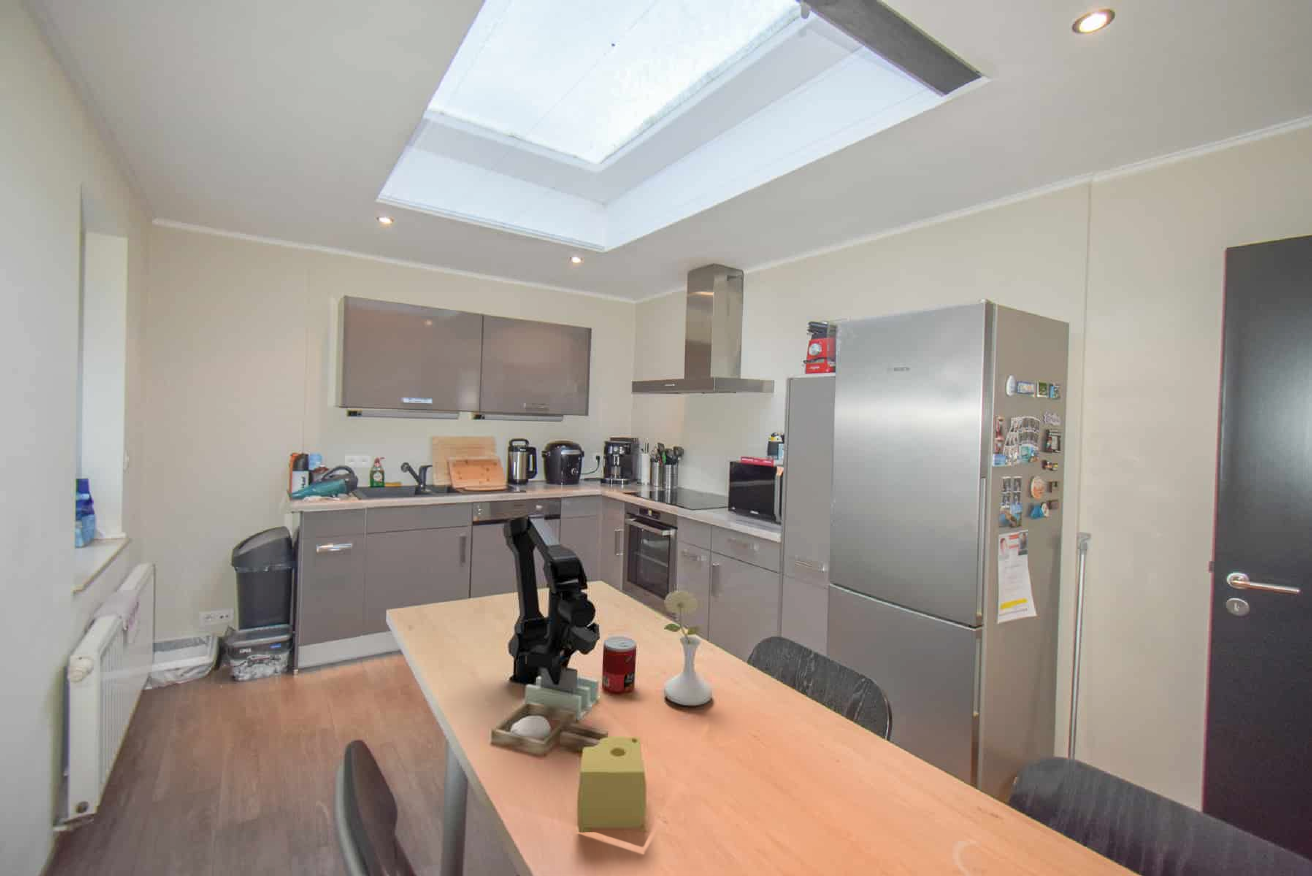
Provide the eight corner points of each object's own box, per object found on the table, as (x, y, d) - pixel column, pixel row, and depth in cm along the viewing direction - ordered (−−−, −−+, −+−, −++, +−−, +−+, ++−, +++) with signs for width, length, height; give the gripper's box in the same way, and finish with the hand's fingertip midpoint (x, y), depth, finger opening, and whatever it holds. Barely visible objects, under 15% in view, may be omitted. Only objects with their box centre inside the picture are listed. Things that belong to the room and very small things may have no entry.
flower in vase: (718, 694, 136) (724, 590, 135) (701, 716, 125) (707, 603, 124) (668, 681, 141) (673, 581, 140) (648, 701, 131) (653, 593, 130)
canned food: (630, 697, 132) (632, 650, 132) (597, 692, 134) (599, 646, 133) (637, 682, 140) (640, 638, 139) (606, 678, 141) (608, 634, 141)
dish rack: (521, 709, 124) (522, 687, 124) (547, 687, 135) (548, 667, 134) (578, 724, 120) (579, 700, 119) (600, 700, 130) (601, 678, 130)
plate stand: (557, 752, 109) (558, 735, 109) (572, 736, 115) (573, 720, 115) (595, 762, 107) (596, 745, 107) (608, 745, 112) (609, 729, 112)
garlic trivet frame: (491, 745, 110) (491, 730, 110) (526, 714, 122) (527, 700, 122) (543, 760, 107) (544, 744, 106) (575, 726, 118) (575, 712, 118)
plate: (540, 700, 126) (541, 665, 125) (543, 697, 127) (545, 662, 127) (572, 708, 123) (574, 672, 123) (575, 705, 124) (577, 669, 124)
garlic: (514, 752, 109) (515, 733, 109) (505, 734, 115) (505, 716, 115) (554, 742, 113) (555, 723, 113) (543, 725, 119) (544, 708, 119)
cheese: (578, 791, 98) (581, 734, 98) (641, 791, 99) (643, 734, 99) (575, 835, 88) (578, 772, 88) (645, 834, 89) (648, 772, 89)
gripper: (574, 633, 113) (570, 710, 113) (612, 605, 130) (609, 672, 131) (525, 624, 117) (522, 698, 117) (569, 598, 134) (566, 663, 135)
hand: (558, 682), depth 125 cm, fingers closed on plate, 2 cm apart
